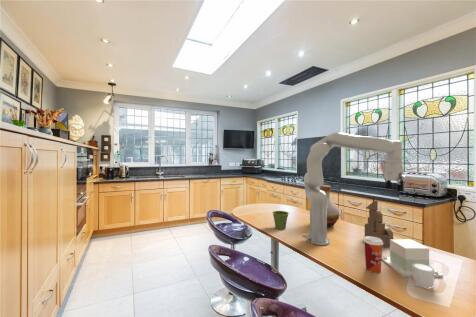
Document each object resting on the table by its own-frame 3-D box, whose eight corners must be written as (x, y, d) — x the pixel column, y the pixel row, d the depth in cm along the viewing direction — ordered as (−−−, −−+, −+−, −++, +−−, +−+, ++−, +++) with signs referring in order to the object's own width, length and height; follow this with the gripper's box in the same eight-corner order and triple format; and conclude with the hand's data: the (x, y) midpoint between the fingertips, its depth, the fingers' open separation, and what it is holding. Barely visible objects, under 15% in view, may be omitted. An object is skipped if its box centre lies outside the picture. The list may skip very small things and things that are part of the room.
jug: (307, 225, 160) (306, 185, 159) (318, 220, 172) (318, 183, 171) (333, 231, 145) (332, 187, 145) (343, 225, 157) (343, 185, 157)
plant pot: (285, 232, 146) (285, 215, 145) (269, 229, 152) (269, 213, 152) (291, 227, 156) (291, 211, 156) (276, 224, 162) (275, 209, 162)
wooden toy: (394, 245, 121) (393, 202, 121) (385, 247, 119) (384, 203, 119) (370, 236, 136) (370, 197, 136) (362, 237, 134) (361, 198, 134)
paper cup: (376, 275, 91) (375, 243, 91) (359, 267, 98) (359, 237, 98) (387, 271, 94) (387, 240, 94) (370, 263, 101) (370, 234, 101)
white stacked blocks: (403, 277, 90) (403, 251, 90) (380, 258, 106) (379, 237, 106) (442, 277, 89) (442, 251, 89) (413, 259, 105) (412, 237, 105)
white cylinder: (407, 279, 88) (407, 263, 88) (422, 278, 89) (422, 262, 89) (423, 290, 81) (423, 272, 81) (439, 289, 82) (439, 271, 82)
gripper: (378, 161, 135) (378, 187, 135) (398, 161, 118) (398, 192, 118) (390, 160, 135) (390, 187, 135) (412, 161, 118) (412, 192, 118)
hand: (394, 189), depth 127 cm, fingers open, 9 cm apart
